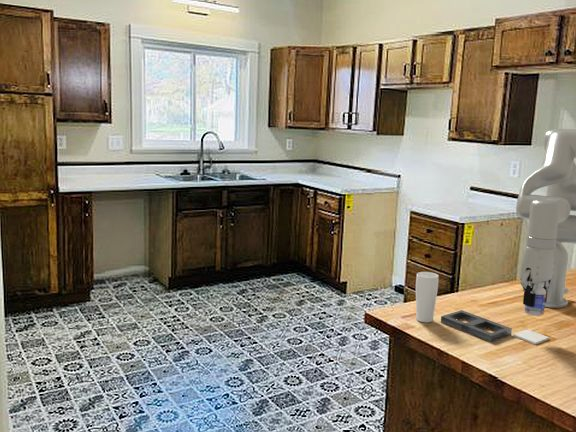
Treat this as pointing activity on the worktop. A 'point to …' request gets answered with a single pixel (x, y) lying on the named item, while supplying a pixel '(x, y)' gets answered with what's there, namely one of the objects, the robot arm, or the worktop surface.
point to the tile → (531, 336)
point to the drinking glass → (426, 296)
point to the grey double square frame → (476, 325)
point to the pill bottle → (537, 301)
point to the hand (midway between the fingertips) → (534, 303)
